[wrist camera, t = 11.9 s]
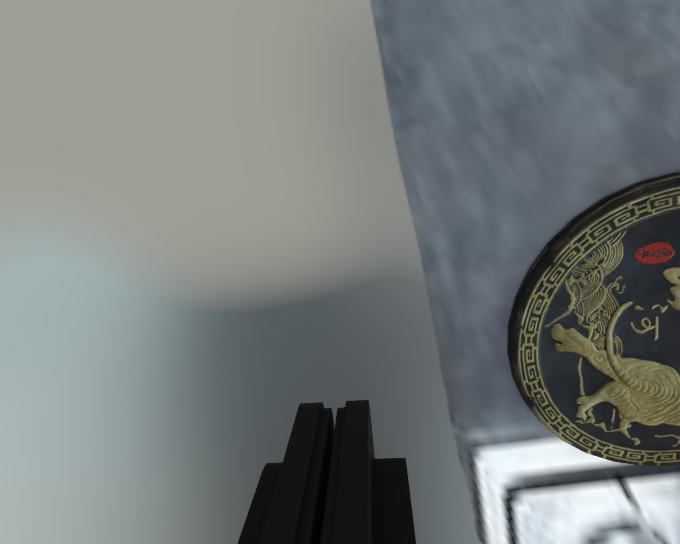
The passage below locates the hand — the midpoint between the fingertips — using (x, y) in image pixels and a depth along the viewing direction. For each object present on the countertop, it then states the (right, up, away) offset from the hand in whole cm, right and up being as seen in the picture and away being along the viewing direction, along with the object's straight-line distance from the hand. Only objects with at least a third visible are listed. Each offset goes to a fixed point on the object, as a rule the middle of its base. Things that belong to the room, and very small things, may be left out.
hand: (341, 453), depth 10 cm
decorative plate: (+32, -1, +29) cm, 43 cm away
